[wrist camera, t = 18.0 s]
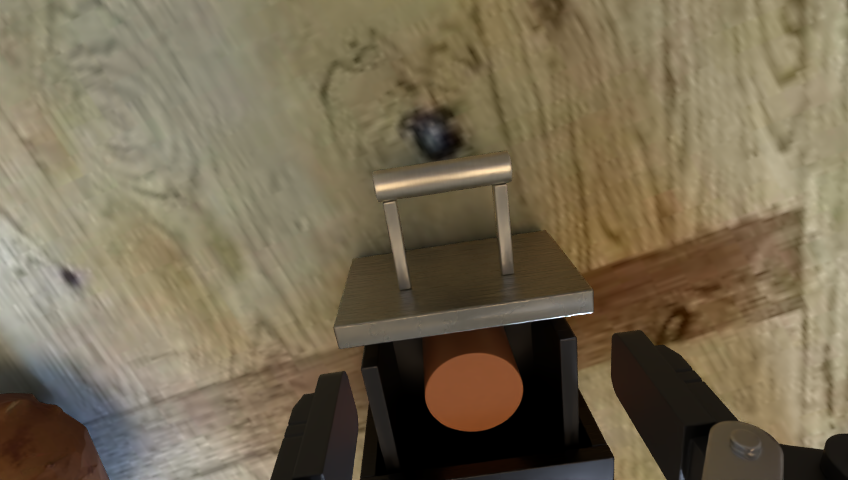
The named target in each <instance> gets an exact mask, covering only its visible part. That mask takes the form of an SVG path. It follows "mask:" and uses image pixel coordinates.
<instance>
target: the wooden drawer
mask: <svg viewBox="0 0 848 480" xmlns="http://www.w3.org/2000/svg"><path fill="white" fill-rule="evenodd" d="M511 181H512V163H511V158H510V155H509V153H508V151H501V152H494V153H488V154H481V155H475V156H468V157H462V158H455V159H449V160H442V161H436V162H429V163H423V164H416V165H410V166H403V167H397V168H390V169H384V170H377V171H374V172H373V183H374V189H375V194H376V198H377V200H378V202H383V206H384V212H385V217H386V222H387V227H388V232H389V238H390V243H391V248H392V253H388V254H382V255H375V256H368V257H361V258H355V259H353V260H352V264H351V267H350V271H349V274H348V278H347V281H346V285H345V289H344V292H343V296H342V299H341V303H340V306H339V310H338V313H337V317H336V321H335V324H334V332H335V336H336V339H337V343H338V347H339V349H344V348H351V347H358V346H364V353H363V359H362V366H361V371H362V375H363V379H364V383H365V387H366V391H367V395H368V399H369V403H370V407H371V411H372V415H373V419H374V424H375V428H376V432H377V436H378V440H379V444H380V448H381V452H382V456H383V460H384V464H385V468H386V472H387V475H389V474H396V473H404V472H411V471H418V470H426V469H433V468H441V467H448V466H455V465H463V464H470V463H478V462H485V461H492V460H500V459H507V458H515V457H522V456H529V455H537V454H544V453H552V452H559V451H566V450H574V449H579V409H578V367H577V338H576V336H575V334H574V333H573V331H572V329H571V328H570V326H569V324H568V323H567V321H566V319H565V318H564V317H567V316H574V315H581V314H588V313H593V311H594V305H593V289H592V288H591V286H590V285H589V284H588V283H587V281H586V280H585V279H584V277H583V276H582V275H581V274H580V272H579V271H578V270H577V269H576V267H575V266H574V265H573V264H572V262H571V261H570V260H569V259H568V257H567V256H566V255H565V253H564V252H563V251H562V250H561V248H560V247H559V246H558V245H557V243H556V242H555V241H554V240H553V238H552V237H551V236H550V235H549V233H548V232H547V231H546V230H543V231H536V232H529V233H522V234H516V235H511V227H510V214H509V202H508V190H507V184H506V183H509V182H511ZM489 185H492V190H493V201H494V211H495V222H496V233H497V237H496V238H489V239H482V240H475V241H469V242H462V243H455V244H449V245H442V246H435V247H429V248H422V249H415V250H408V251H406V249H405V244H404V238H403V233H402V227H401V221H400V216H399V210H398V205H397V199H403V198H410V197H417V196H423V195H430V194H436V193H443V192H449V191H456V190H463V189H469V188H476V187H482V186H489ZM497 326H503V327H504V330H505V333H506V336H507V338H508V341H509V344H510V347H511V350H512V353H513V356H514V359H515V361H516V364H517V367H518V370H519V373H520V376H521V379H522V382H523V396H522V400H521V402H520V405H519V406H518V408H517V410H516V411H515V412H514V413H513V415H512V416H511V417H509V418H508V419H507V420H506V421H504V422H503V423H501V424H499V425H497V426H495V427H493V428H490V429H487V430H482V431H473V432H468V431H460V430H455V429H452V428H450V427H447V426H445V425H443V424H442V423H440V422H439V421H438V420H437V419H436V418H435V417H434V416H433V415H432V414H431V413H430V411H429V409H428V407H427V404H426V401H425V390H424V368H423V346H422V337H428V336H435V335H442V334H449V333H455V332H462V331H469V330H476V329H483V328H490V327H497Z"/></svg>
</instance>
